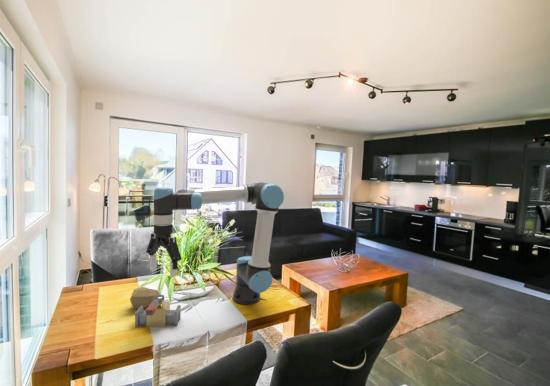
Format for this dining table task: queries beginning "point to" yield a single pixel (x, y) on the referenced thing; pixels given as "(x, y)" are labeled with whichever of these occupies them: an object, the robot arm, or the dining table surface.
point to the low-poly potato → (142, 297)
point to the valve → (158, 316)
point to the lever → (154, 304)
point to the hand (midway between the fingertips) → (163, 272)
